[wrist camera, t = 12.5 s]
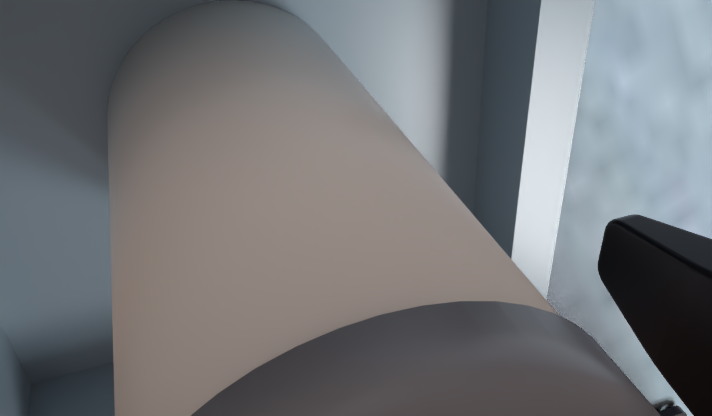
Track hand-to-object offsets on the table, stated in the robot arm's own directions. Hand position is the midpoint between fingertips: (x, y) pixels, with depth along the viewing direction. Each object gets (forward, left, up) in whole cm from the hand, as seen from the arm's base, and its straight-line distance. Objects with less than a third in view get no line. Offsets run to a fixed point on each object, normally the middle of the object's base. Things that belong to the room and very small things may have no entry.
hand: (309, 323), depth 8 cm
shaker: (0, 0, -6) cm, 6 cm away
